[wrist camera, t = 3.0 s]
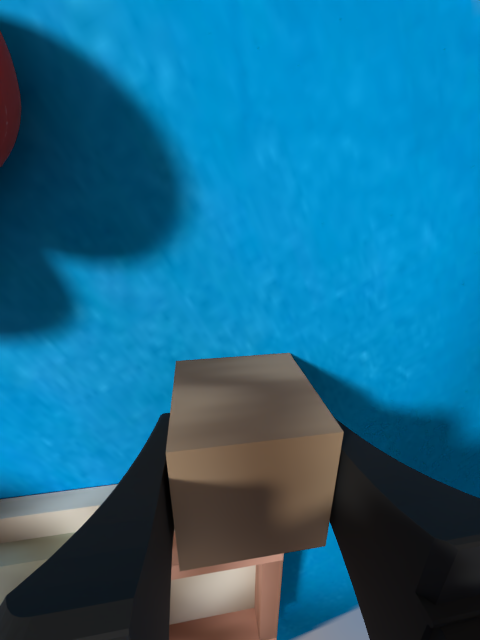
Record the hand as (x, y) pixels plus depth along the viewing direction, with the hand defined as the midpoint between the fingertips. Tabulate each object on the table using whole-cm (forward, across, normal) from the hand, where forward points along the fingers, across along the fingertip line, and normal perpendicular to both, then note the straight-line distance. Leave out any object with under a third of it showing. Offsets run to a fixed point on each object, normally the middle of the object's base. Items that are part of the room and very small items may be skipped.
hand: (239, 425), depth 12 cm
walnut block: (+1, 0, 0) cm, 1 cm away
